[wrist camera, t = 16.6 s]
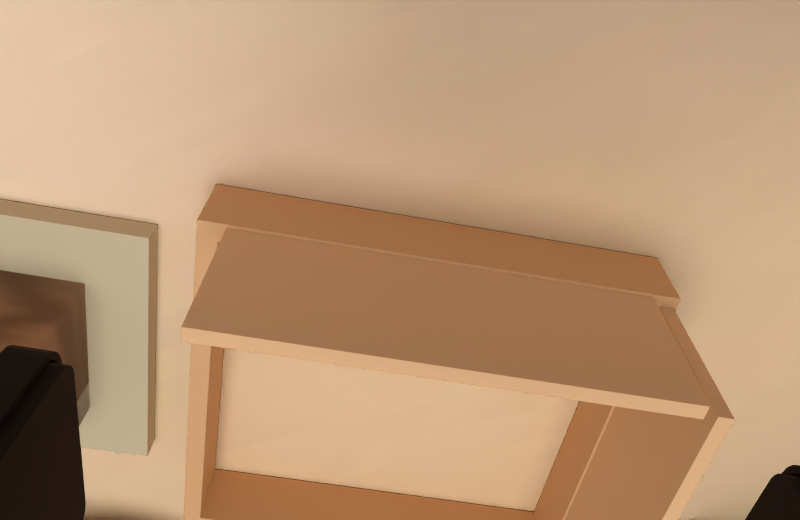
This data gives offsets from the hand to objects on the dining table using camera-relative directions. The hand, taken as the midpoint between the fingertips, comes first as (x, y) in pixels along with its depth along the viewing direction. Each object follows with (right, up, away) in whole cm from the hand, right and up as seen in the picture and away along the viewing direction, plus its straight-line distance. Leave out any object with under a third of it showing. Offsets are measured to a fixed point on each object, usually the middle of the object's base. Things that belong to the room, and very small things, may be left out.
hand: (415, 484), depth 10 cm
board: (-21, -1, +33) cm, 39 cm away
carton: (0, -4, +34) cm, 35 cm away
